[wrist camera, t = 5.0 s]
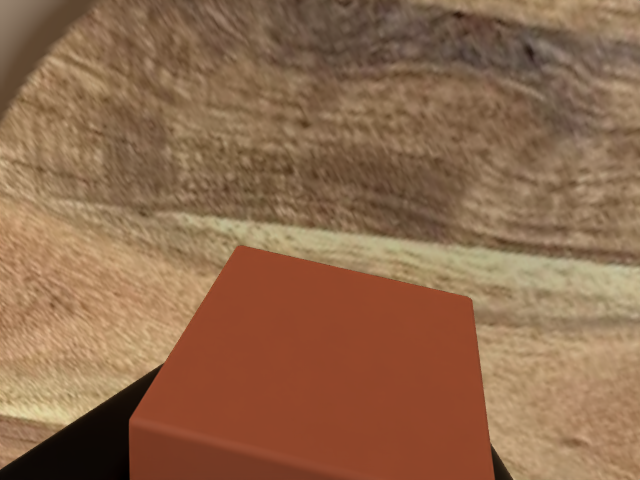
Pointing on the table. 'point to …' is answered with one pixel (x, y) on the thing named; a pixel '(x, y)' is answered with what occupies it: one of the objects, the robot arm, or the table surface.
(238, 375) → the block
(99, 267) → the table surface
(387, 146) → the table surface
